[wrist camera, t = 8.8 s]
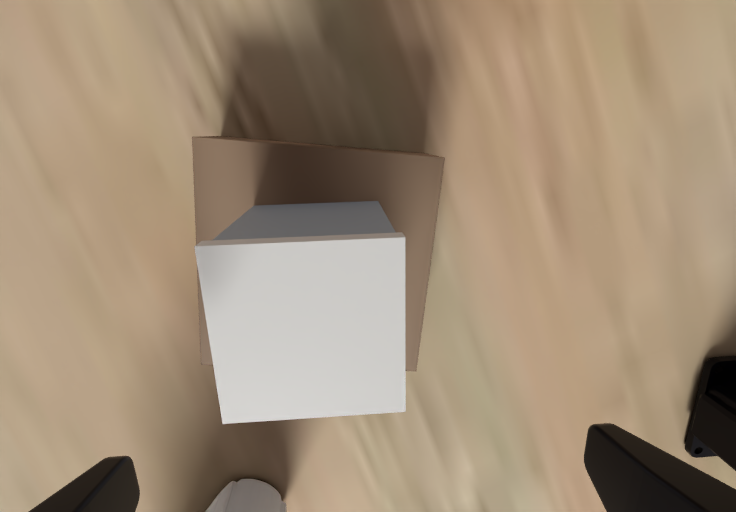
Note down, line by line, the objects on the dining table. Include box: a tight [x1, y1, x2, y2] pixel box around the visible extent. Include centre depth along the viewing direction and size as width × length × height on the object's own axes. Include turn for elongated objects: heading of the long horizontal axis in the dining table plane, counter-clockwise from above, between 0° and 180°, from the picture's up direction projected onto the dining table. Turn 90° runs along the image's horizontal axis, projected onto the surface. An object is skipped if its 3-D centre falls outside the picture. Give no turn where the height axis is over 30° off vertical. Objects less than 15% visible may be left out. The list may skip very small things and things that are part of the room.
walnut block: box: [192, 136, 445, 371], centre depth 18 cm, size 9×9×4 cm
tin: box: [194, 201, 406, 424], centre depth 13 cm, size 5×5×6 cm
